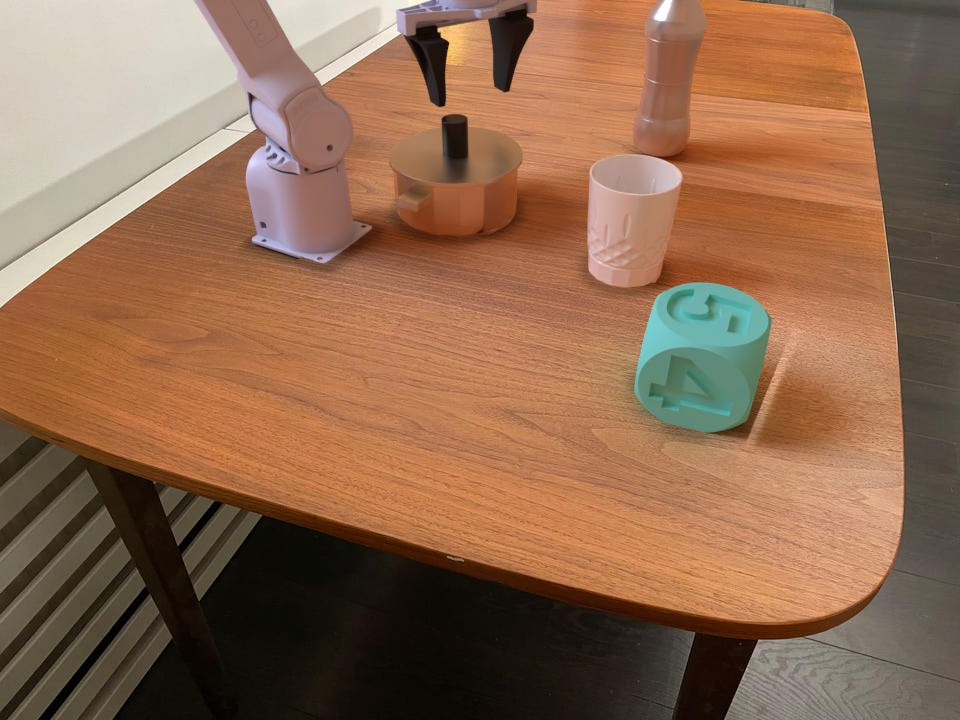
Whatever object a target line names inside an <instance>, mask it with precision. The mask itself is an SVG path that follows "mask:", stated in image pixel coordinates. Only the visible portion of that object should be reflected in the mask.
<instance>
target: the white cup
mask: <svg viewBox="0 0 960 720" xmlns="http://www.w3.org/2000/svg"><path fill="white" fill-rule="evenodd" d="M588 180H589V181H588V204H587V243H586V245H587V250H588V251H587V267H588V268H587V269H588V272H589V273H590V274H591V275H592V276H593V277H594V278H595V279H596V280H598V281H600V282H603V283H605V284H607V285H609V286H613V287H619V288H628V289H629V288H636V287H637V288H638V287H645V286H647V285H649V284H651V283H653V284H656V283H657V281H658V280H659V278H660V276H661V273H662V269H663V265H664V260H665V255H666V253H667V250H668V246H669V241H670V238H671V234H672V231H673V226H674V221H675V216H676V213H677V212H676V211H677V207H678V202H679V198H680V194H681V189H682V185H683V181H684V176H683V173H682V171H681V170H680V168H678V167H677V166H676V165H674V164H673V163H671V162H670V161H667V160H665V159H662V158H659V157H657V156H653V155H647V154H638V153H637V154H634V153H627V154H626V153H625V154H624V153H623V154H616V155H610V156H607V157H603V158H601V159H599V160H597V161H595V162H594V163H593V164H592V165H591V167H590V169H589V176H588Z"/></svg>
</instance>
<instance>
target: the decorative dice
mask: <svg viewBox="0 0 960 720" xmlns="http://www.w3.org/2000/svg"><path fill="white" fill-rule="evenodd" d="M772 320H773V319H772V317H771V315H770V314H769V313H768V311H767V310H766V309H765V307H764V306H763V305H762V304H761V303H760V302H759V301H757V300H756V299H755V298H754V297H752V296H751V295H749V294H748V293H746V292H744V291H742V290H739V289H737V288H734V287H732V286H728V285H725V284H719V283H713V282H698V281H697V282H687V283H682V284H679V285H675V286H673V287H671V288H669V289H666V290H664V291H663V292H661V293H660V294H658V295H657V296H656V297H655V300H654V302H653V305H652V308H651V311H650V314H649V317H648V320H647V325H646V328H645V331H644V334H643V340H642V344H641V348H640V351H639V352H640V354H639V357H638V361H637V367H636V373H635V379H634V387H633V388H634V390H633V393H634V395H635V397H636V398H637V401H639V403H640V404H641V405H642V406H643V408H645V410H647V412H648V413H650V414H651V415H652V416H653V417H654V418H656V419H657V420H659V421H660V422H662V423H665V424H669V425H673V426H677V427H681V428H686V429H689V430H694V431H697V432H702V433H718V432H724V431H726V430H730V429H733V428H735V427H736V428H737V427H738V426H740V425H742V424H744V423H746V422H747V420H748V418H749V416H750V413H751V410H752V407H753V403H754V400H755V396H756V393H757V389H758V386H759V381H760V377H761V374H762V369H763V367H764V361H765V357H766V353H767V349H768V345H769V339H770V334H771V329H772V323H773V321H772Z"/></svg>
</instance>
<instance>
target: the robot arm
mask: <svg viewBox="0 0 960 720" xmlns="http://www.w3.org/2000/svg"><path fill="white" fill-rule="evenodd" d="M193 2H194V4H195V5H196V6H197V8H198V10H199V11H200V13H201V15H202V16H203V18H204V19H205V21H206V22H207V24H208V26H209V28H210V29H211V30H212V32H213V33H214V35H215V36H216V38H217V39H218V42H219V43H220V45H221V47H222V48H223V49H224V51H225V53H226V55H227V56H228V57H229V59H230V60H231V62H232V64H233V66H235V68H236V80H237V82H238V84H239V86H240V87H241V89H242V90H243V92H244V95H245V98H246V104H247V113H248V117H249V119H250V121H251V124H252V125H253V127H254V128H255V129H256V130H257V131H258V132H260V133H261V134H263V135H264V136H265V141H266V142H265V145H262V146H261V147H259V148H258V149H257V150H256V151H254V153H253V154H252V155H251V157H250V158H249V161H248V164H247V167H246V171H245V186H246V190H247V195H248V199H249V204H250V208H251V211H252V217H253V222H254V225H255V230H256V234H255V235H254V236H253V237H252V238H251V243H253V244H254V245H257V246H261V247H264V248H266V249H269V250H273V251H275V252H279V253H282V254H285V255H287V256H291V257H294V258H298V259H301V258H305V259H308V260H311V261H314V262H317V263H320V264H326V263H328V262H330V261H331V260H333V259H335V258H336V257H337V256H338V255H339V254H341V253H342V252H343V251H345V250H346V249H348V248H349V247H350V246H352V244H354V243H356V242H357V241H358V240H359V239H361V238H362V237H363V236H365V235H366V234H367V233H369V232H370V231H371V230H372V229H373V226H372V225H370V224H366V223H362V222H359V221H356V220H354V218H353V217H354V216H353V209H352V202H351V201H352V200H351V194H350V185H349V177H348V169H347V164H346V163H347V162H346V155H347V153H348V152H349V150H350V147H351V145H352V142H353V139H354V124H353V120H352V116H351V115H350V113H349V111H348V110H347V109H346V107H345V106H344V105H343V104H342V103H340V102H339V101H337V100H336V99H334V98H333V97H331V96H330V95H329V94H328V93H327V92H326V90H325V89H324V88H323V85H322V83H321V82H320V79H318V77H317V76H316V75H315V74H314V72H313V71H312V70H311V69H310V68H309V66H308V65H307V64H306V63H305V62H304V60H303V59H302V58H301V57H300V56H299V55H298V53H297V52H296V50H295V49H294V47H293V45H292V44H291V42H290V41H289V38H288V37H287V35H286V33H285V31H284V30H283V27H282V25H281V24H280V21H279V20H278V19H277V16H276V14H275V13H274V11H273V9H272V7H271V5H270V4H269V2H268V0H193ZM537 12H538V0H427V1H423V2H420V3H417V4H414V5H411V6H408V7H403V8H398V9H396V10H395V17H396V30H397V32H398V33H400V34H401V35H403V37H404V40H405V41H406V43H407V44H408V46H409V48H410V49H411V51H412V53H413V56H414V58H415V59H416V61H417V64H418V66H419V68H420V71H421V74H422V76H423V79H424V83H425V86H426V90H427V93H428V97H429V101H430V103H432V104H433V105H434V106H436V107H438V108H443V107H446V104H447V86H446V85H447V84H446V83H447V82H446V69H447V58H448V52H449V46H450V41H449V40H447V39H445V38H443V37H442V32H440V31H439V29H442V28H446V27H453V26H458V25H463V24H469V23H473V22H474V23H475V22H480V21H488V26H489V32H490V38H491V44H492V45H491V46H492V47H491V48H492V78H493V87H494V88H495V89H498V91H501V92H503V93H508V92H510V91H511V87H512V82H513V79H514V75H515V72H516V67H517V65H518V62H519V59H520V56H521V54H522V51H523V49H524V47H525V45H526V43H527V41H528V40H529V38H530V36H531V35H532V33H533V31H534V27H535V20H534V19H533V18H532V17H529V16H528V15H532V14H537ZM364 226H365V227H364ZM320 258H322V259H320Z"/></svg>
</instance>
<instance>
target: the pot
mask: <svg viewBox="0 0 960 720" xmlns="http://www.w3.org/2000/svg"><path fill="white" fill-rule="evenodd" d="M505 135H506V136H508V135H507V134H505ZM518 170H519V168H518V169H517V170H516V171H515V172H514V173H513V174H511V175H510V176H508V177H506V178H504V179H502V180H499V181H497V182H494V183H491V184H486V185H482V186H477V187H469V188H436V187H429V186H424V185H419V184H416V183H413V182H410V181H408V180H405V179H404V178H402V177H400V176H399V175H397V174H396V173H395V172H394V171H393V170H392V175H393V176H392V177H393V186H394V198H395V208H396V211H397V213H398V216H399V218H400V220H401V221H403V222H404V223H406V224H407V225H409V226H410V227H412V228H413V229H415V230H419V231H423V232H425V233H428V234H433V235H439V236H458V237H461V236H468V235H474V234H476V235H479V236H482V237H483V236H484V237H486V236H488V235H491V234H494V233H496V232H499V231H501V230H502V229H504V228H506V226H508V225H510V223H511V222H512V221H513V220H514V218H515V217H516V212H517V204H518Z"/></svg>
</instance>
